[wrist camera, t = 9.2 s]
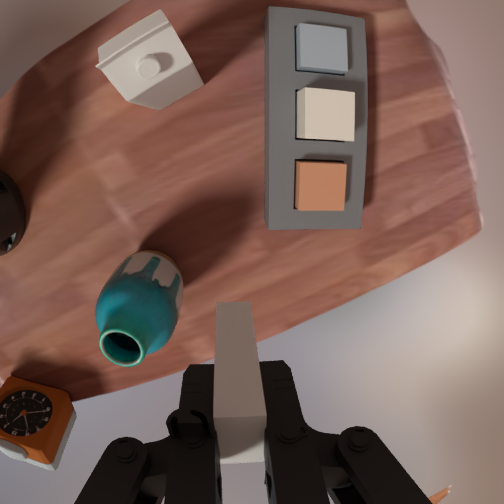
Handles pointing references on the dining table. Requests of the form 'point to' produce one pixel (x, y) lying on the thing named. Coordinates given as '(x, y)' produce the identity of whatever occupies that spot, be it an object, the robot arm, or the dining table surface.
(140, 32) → the milk carton
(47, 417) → the alarm clock
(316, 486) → the robot arm
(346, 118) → the key ivory
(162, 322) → the vase
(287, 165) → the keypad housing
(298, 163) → the key rust
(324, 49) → the key slate
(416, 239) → the dining table surface
